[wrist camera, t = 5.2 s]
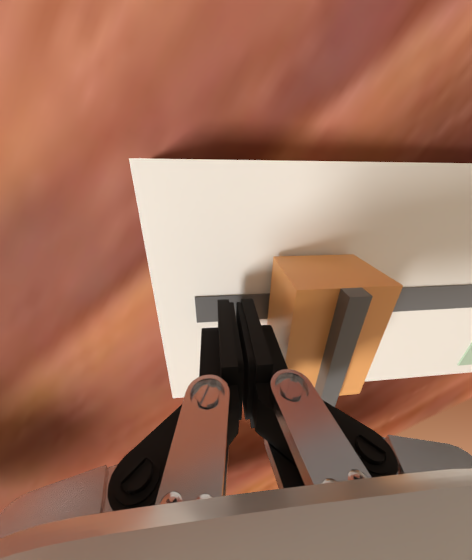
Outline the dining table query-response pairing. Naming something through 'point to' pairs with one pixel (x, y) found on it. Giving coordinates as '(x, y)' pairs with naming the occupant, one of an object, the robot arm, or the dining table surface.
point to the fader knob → (330, 318)
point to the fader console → (310, 247)
